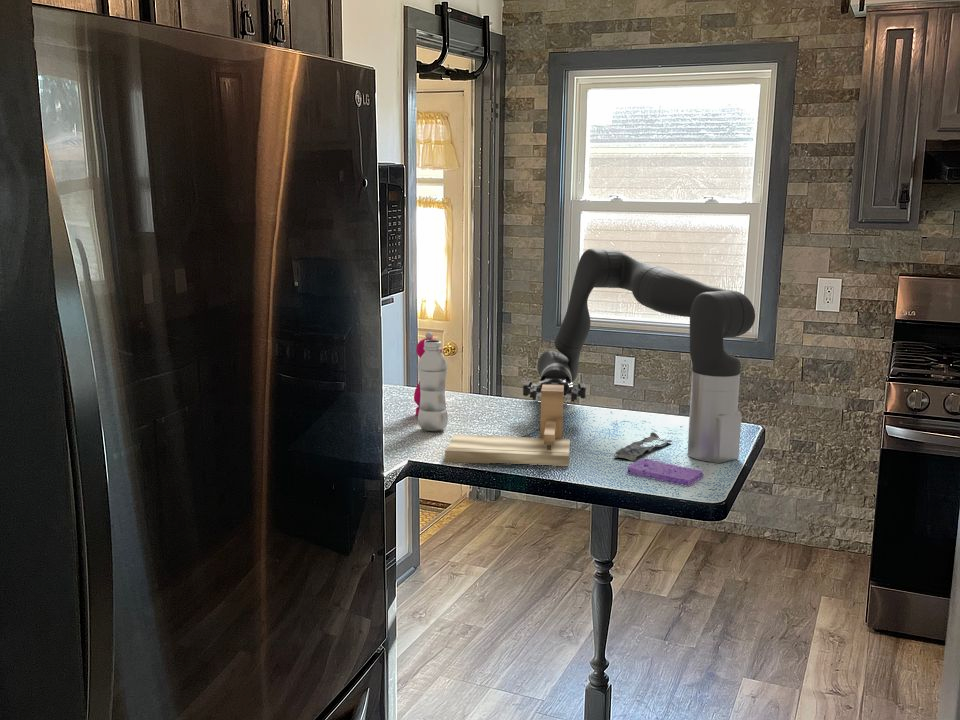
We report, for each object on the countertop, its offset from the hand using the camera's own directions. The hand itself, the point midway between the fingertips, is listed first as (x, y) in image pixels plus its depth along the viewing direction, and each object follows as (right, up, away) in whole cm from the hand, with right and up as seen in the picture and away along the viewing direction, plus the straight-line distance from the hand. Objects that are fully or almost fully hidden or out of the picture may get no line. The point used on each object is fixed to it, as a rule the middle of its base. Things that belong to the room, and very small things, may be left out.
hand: (553, 396), depth 193 cm
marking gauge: (-2, -11, -16) cm, 19 cm away
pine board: (-10, -11, -19) cm, 24 cm away
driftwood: (+18, -11, -13) cm, 24 cm away
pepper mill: (-28, -5, +13) cm, 32 cm away
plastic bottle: (-27, -8, 0) cm, 28 cm away
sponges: (+18, -14, -30) cm, 38 cm away
